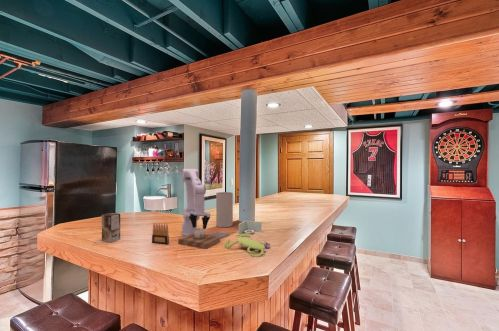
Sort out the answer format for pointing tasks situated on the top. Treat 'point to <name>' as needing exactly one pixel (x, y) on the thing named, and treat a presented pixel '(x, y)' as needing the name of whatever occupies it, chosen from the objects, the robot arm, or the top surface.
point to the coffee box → (110, 227)
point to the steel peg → (199, 233)
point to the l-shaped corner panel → (249, 227)
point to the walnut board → (199, 241)
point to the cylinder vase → (224, 209)
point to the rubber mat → (220, 234)
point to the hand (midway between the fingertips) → (199, 228)
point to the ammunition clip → (160, 234)
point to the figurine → (249, 244)
